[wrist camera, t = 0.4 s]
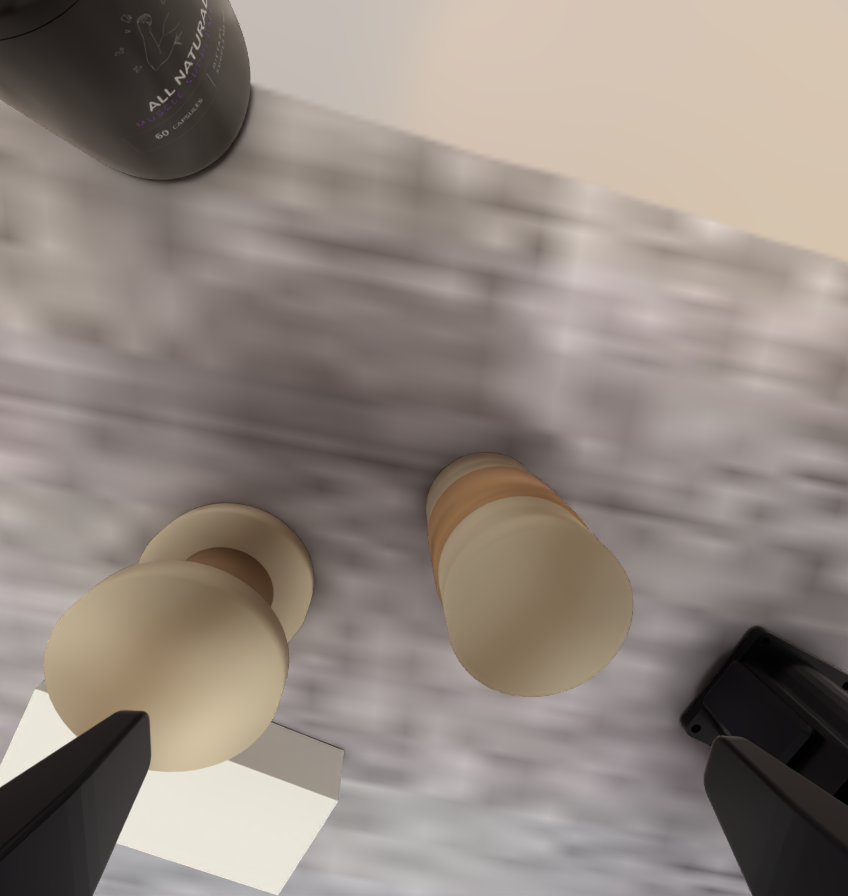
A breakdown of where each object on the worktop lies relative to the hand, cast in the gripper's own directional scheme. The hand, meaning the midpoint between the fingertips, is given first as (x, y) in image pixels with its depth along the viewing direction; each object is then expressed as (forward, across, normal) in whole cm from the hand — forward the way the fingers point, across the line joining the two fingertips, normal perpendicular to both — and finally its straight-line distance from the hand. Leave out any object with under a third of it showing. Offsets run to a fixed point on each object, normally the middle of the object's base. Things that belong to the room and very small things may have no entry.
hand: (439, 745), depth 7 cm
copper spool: (+13, -3, 0) cm, 13 cm away
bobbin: (+12, +8, +4) cm, 15 cm away
